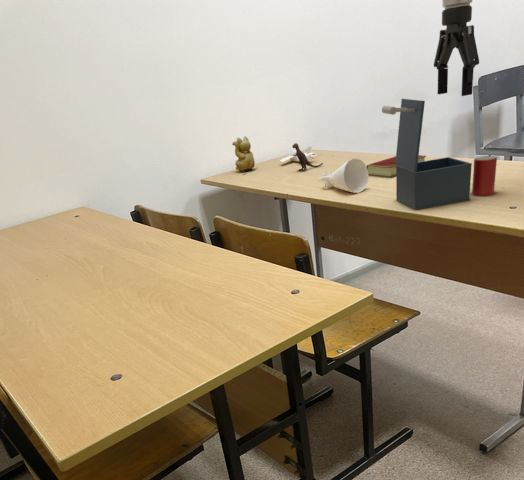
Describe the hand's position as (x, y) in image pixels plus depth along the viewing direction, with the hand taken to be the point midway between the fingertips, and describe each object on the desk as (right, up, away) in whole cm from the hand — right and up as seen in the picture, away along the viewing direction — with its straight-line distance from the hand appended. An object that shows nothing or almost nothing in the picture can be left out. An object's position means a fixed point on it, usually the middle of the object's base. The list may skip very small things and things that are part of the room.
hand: (454, 94), depth 151 cm
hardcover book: (-2, -2, +58) cm, 58 cm away
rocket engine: (-25, -14, +43) cm, 51 cm away
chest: (-2, -26, +15) cm, 30 cm away
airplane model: (-36, +16, +99) cm, 107 cm away
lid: (-11, -10, +5) cm, 15 cm away
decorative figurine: (-62, +11, +98) cm, 116 cm away
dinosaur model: (-34, +7, +83) cm, 90 cm away
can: (+14, -24, +15) cm, 31 cm away
